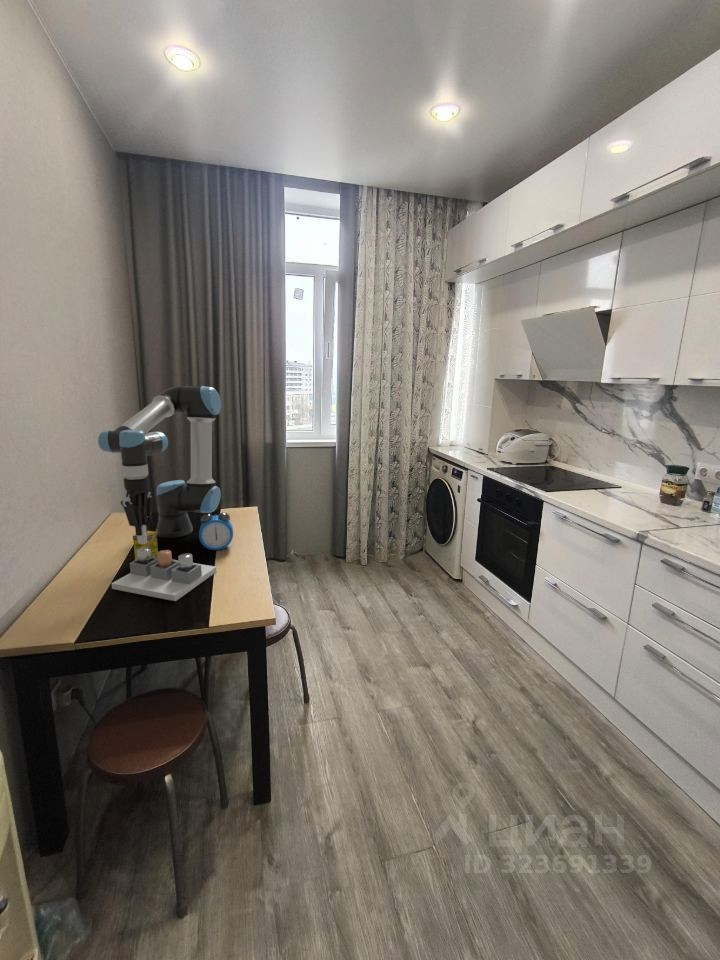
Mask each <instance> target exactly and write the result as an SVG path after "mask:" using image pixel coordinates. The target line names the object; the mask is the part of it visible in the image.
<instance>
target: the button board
mask: <svg viewBox="0 0 720 960" xmlns="http://www.w3.org/2000/svg"><path fill="white" fill-rule="evenodd" d="M129 570H130V572H129V573H128V574H126V575H124V576H122V577H120V578H119V579H117V580H115V581H113V582H111V589H112V590H117V591H121V592H126V593H131V594H137V595H142V596H147V597H152V598H158V599H162V600H168V601H173V602H177V601H178V600H179V599H181V598H182V597H184V596H185V595H186V594H188V593H189V592H191V591H192V590H193V589H195V588H197V586H199V585H200V584H202V583H203V582H205V581H206V580H207V579H209V578H211V576H213V575H215V573H217V566H214V565H207V564H201V563H195V562H193V569H192V570H190V571H189V572H185V571H179V560H176V559H172V565H171V566H169V567H168V568H162V567H158V558H156V557H152V561H151V562H150V563H148V564H146V565H144V564H138V559H137V560H135V559H134V560H133V561H131V562H129Z"/></svg>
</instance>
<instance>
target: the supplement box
mask: <svg viewBox="0 0 720 960" xmlns="http://www.w3.org/2000/svg"><path fill="white" fill-rule="evenodd" d="M132 542H133V549H134V550H133V551H134V561H135V560H137V559H138V558H137V549H138V548H141V547H150V548H151V556H152V557H156V558H158V557H157V553H158V552H159V547H158V536H157V535H156V531H154V530H153V531H152V530H147V542H148V543H146V544H139V543H138V539H137V535H136V533H135V534H132Z"/></svg>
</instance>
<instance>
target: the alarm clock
mask: <svg viewBox="0 0 720 960" xmlns="http://www.w3.org/2000/svg"><path fill="white" fill-rule="evenodd" d="M200 522H201V524H200V527H199V532H198V539H199V542H200V543H201V545H202V546H203V547H204V548H206V549H208V551H210V550H212V551H220V550H224V549H225V550H227V547H228V546H229V545H230V544H231V542H232V541H233V538H234V527H233V524H232V523H231V517H230V515H229V513H227V512H220V513H219V514H218V515H217V514H213V515H212V514H211V513H203V515H202V516H201V517H200Z"/></svg>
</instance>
